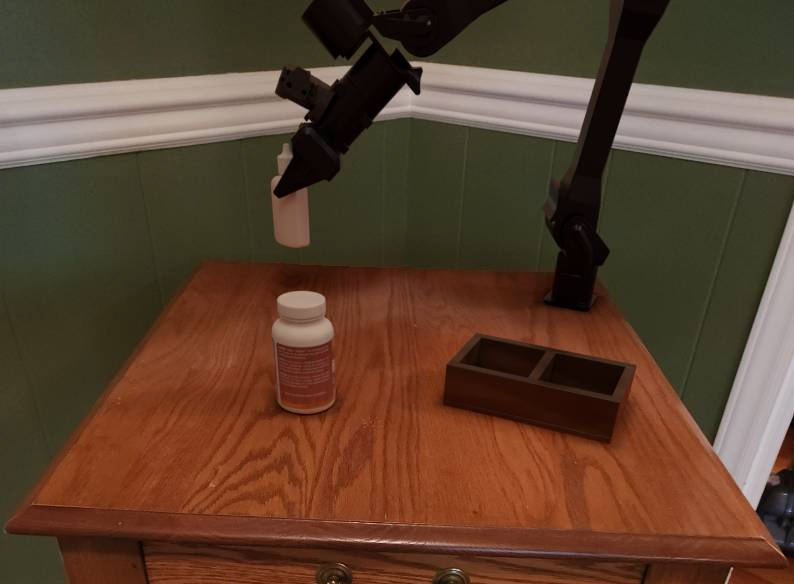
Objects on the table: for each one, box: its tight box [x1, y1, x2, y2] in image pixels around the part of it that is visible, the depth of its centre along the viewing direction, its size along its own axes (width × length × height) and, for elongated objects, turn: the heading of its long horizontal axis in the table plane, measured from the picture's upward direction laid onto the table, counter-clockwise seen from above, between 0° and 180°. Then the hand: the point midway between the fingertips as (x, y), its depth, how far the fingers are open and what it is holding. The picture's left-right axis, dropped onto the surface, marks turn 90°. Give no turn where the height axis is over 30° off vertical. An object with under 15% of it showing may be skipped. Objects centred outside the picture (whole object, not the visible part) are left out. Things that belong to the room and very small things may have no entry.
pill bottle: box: [271, 290, 336, 415], centre depth 74 cm, size 6×6×11 cm
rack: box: [442, 332, 637, 444], centre depth 77 cm, size 9×18×5 cm, turn 66°
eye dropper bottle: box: [270, 143, 311, 249], centre depth 95 cm, size 4×6×12 cm
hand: (278, 190), depth 95 cm, fingers closed on eye dropper bottle, 5 cm apart
